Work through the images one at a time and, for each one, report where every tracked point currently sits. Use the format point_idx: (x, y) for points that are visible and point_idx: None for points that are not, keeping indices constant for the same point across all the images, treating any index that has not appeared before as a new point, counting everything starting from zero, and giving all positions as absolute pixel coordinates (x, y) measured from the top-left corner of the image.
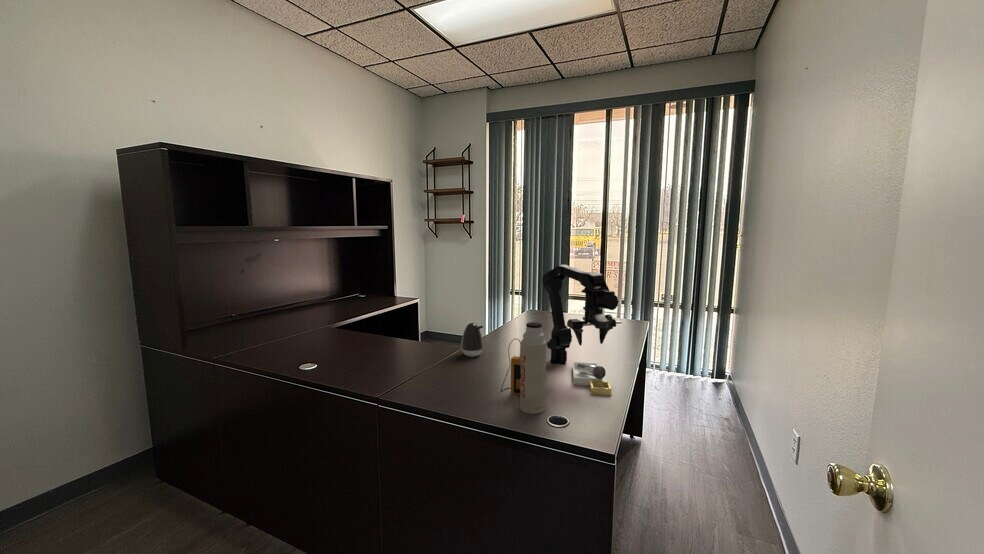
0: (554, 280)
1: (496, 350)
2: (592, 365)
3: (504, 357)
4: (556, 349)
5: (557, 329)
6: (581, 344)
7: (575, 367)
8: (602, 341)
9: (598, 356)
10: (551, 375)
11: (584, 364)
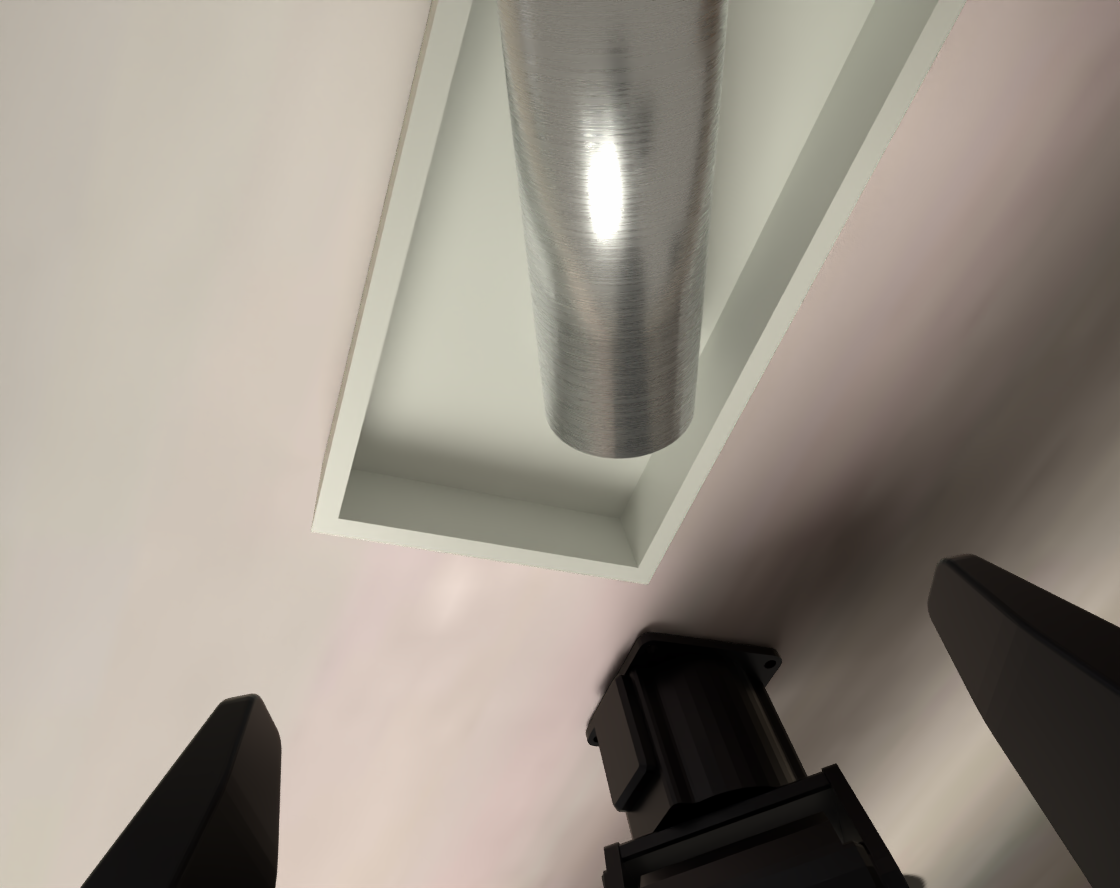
0: None
1: (1015, 854)
2: (640, 85)
3: None
4: (804, 783)
5: None
6: (965, 573)
7: (602, 518)
8: (210, 758)
9: None
10: (967, 345)
11: (671, 311)
